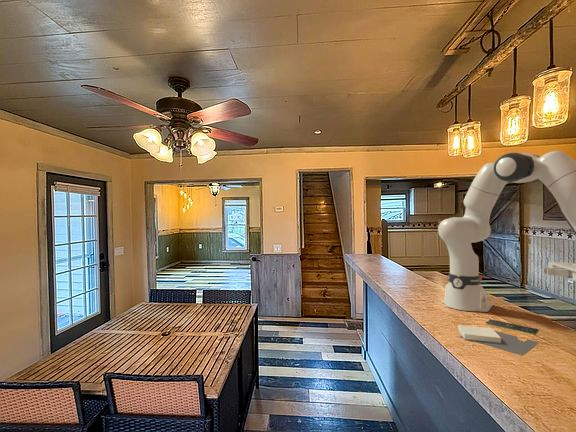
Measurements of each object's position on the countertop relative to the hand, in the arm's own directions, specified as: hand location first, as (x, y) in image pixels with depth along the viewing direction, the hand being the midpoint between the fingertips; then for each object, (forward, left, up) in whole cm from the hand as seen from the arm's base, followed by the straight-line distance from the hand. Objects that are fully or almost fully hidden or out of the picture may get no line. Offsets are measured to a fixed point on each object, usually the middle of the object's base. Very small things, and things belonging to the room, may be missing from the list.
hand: (545, 270), depth 98 cm
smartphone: (-10, -12, -23) cm, 28 cm away
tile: (+8, -11, -21) cm, 25 cm away
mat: (+8, -10, -23) cm, 26 cm away
